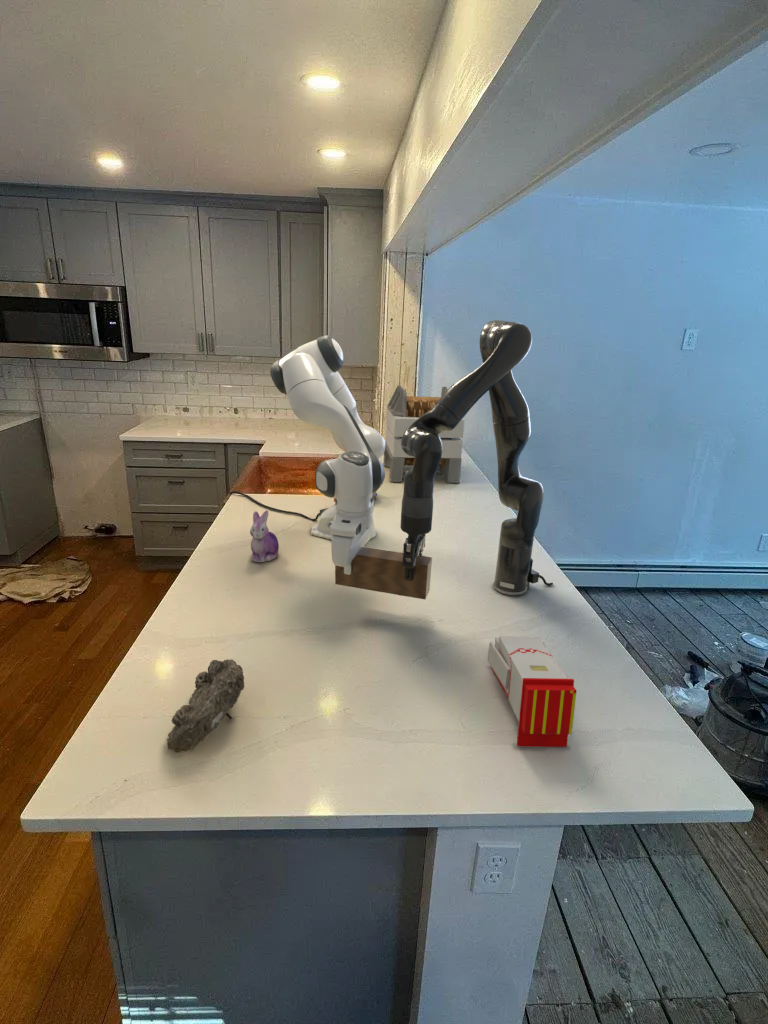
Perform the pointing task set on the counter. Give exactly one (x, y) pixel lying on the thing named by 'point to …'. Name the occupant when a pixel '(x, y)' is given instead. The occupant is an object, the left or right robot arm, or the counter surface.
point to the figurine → (262, 539)
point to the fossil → (206, 705)
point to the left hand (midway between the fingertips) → (352, 568)
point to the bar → (386, 573)
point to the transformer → (398, 420)
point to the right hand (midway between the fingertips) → (412, 572)
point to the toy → (534, 690)
